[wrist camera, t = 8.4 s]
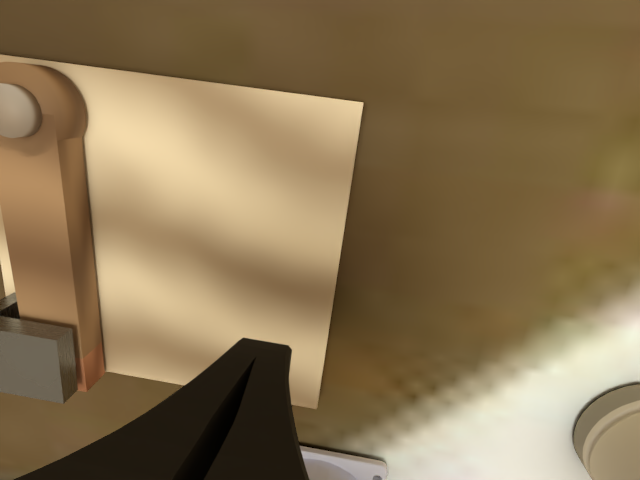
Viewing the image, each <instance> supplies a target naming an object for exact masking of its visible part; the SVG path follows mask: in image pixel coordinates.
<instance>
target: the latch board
mask: <svg viewBox="0 0 640 480" xmlns="http://www.w3.org/2000/svg"><path fill="white" fill-rule="evenodd" d="M0 62H18V63H27V64H36V65H43V66H48V67H51V68H53V69H55V70H57V71H59V72H60V73H62V74H63V75H64V76H66V77H67V78H68V79H69V80H70V81H71V82H72V83H73V85H74V86H75V87H76V89H77V90H78V92H79V94H80V96H81V98H82V100H83V103H84V107H85V112H86V126H85V130H84V133H83V136H82V146H83V157H84V167H85V177H86V187H87V197H88V207H89V217H90V228H91V238H92V248H93V258H94V268H95V278H96V288H97V299H98V309H99V319H100V329H101V339H102V349H103V359H104V370H105V371H108V372H113V373H119V374H124V375H130V376H136V377H141V378H147V379H152V380H158V381H163V382H169V383H174V384H180V385H186V384H187V383H189V382H190V381H191V380H193V379H194V378H195V377H196V376H198V375H199V374H200V373H201V372H203V371H204V370H205V369H206V368H208V367H209V366H210V365H211V364H212V363H214V362H215V361H216V360H217V359H218V358H219V357H221V356H222V355H223V354H224V353H225V352H226V351H228V350H229V349H230V348H231V347H232V346H233V345H234V344H236V343H237V342H238V341H239V340H240V339H242V338H249V339H255V340H261V341H266V342H272V343H278V344H284V345H289V347H290V348H291V349H292V355H291V363H290V372H289V388H290V397H291V405H297V406H302V407H308V408H313V409H317V405H318V399H319V392H320V386H321V379H322V372H323V366H324V359H325V353H326V346H327V340H328V333H329V326H330V320H331V313H332V307H333V300H334V294H335V287H336V280H337V274H338V267H339V261H340V254H341V248H342V241H343V235H344V228H345V221H346V215H347V208H348V202H349V195H350V189H351V182H352V175H353V169H354V162H355V156H356V149H357V143H358V136H359V129H360V123H361V116H362V110H363V102H356V101H348V100H341V99H333V98H326V97H318V96H311V95H303V94H295V93H288V92H280V91H273V90H265V89H258V88H250V87H242V86H235V85H227V84H220V83H212V82H205V81H197V80H190V79H182V78H174V77H167V76H159V75H152V74H144V73H137V72H129V71H121V70H114V69H106V68H99V67H91V66H84V65H76V64H68V63H61V62H53V61H46V60H38V59H31V58H23V57H16V56H8V55H0ZM0 261H1V268H2V274H3V280H4V287H5V293H6V296H8V295H10V294H12V293H14V292H15V287H14V281H13V275H12V269H11V264H10V258H9V252H8V246H7V241H6V235H5V229H4V224H3V218H2V212H1V206H0Z"/></svg>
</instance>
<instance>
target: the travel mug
mask: <svg viewBox="0 0 640 480" xmlns="http://www.w3.org/2000/svg"><path fill="white" fill-rule="evenodd" d="M574 446H575V450H576V453H577V454H578V456H579V458H580V460H581V462H582V463H583V465H584V467H585V468H586V470H587V472H588V473H589V475H590V477H591V478H592V479H593V480H640V384H638V385H632V386H627V387H623V388H620V389H617V390H614V391H611V392H609V393H607V394H605V395H604V396H602V397H600V398H598V399H597V400H596V401H594V402H593V403H592V404H591V405H589V407H588V408H587V409H586V410H585V411H584V412H583V413H582V415H581V417H580V418H579V420H578V422H577V424H576V428H575V431H574Z"/></svg>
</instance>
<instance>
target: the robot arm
mask: <svg viewBox="0 0 640 480" xmlns="http://www.w3.org/2000/svg"><path fill="white" fill-rule="evenodd" d="M291 355H292V349H291V348H290V347H289V345H284V344H278V343H272V342H266V341H261V340H255V339H249V338H242V339H240V340H239V341H238V342H237V343H236V344H234V345H233V346H232V347H231V348H230V349H229V350H228V351H226V352H225V353H224V354H223V355H222V356H221V357H219V358H218V359H217V360H216V361H215V362H214V363H212V364H211V365H210V366H209V367H208V368H206V369H205V370H204V371H203V372H201V373H200V374H199V375H198V376H196V377H195V378H194V379H193V380H191V381H190V382H189V383H187V384H186V385H185V386H183V387H182V388H181V389H179V390H178V391H176V392H175V393H174V394H172V395H171V396H169V397H168V398H167V399H165V400H164V401H162V402H161V403H160V404H158V405H157V406H155V407H154V408H152V409H151V410H149V411H148V412H146V413H145V414H143V415H141V416H140V417H138V418H137V419H135V420H133V421H132V422H130V423H128V424H127V425H125V426H123V427H122V428H120V429H118V430H116V431H115V432H113V433H111V434H109V435H107V436H105V437H103V438H101V439H99V440H97V441H95V442H93V443H91V444H90V445H88V446H86V447H84V448H82V449H80V450H78V451H76V452H74V453H72V454H70V455H68V456H66V457H64V458H62V459H60V460H57V461H55V462H53V463H51V464H49V465H46V466H44V467H42V468H40V469H38V470H35V471H33V472H30V473H28V474H26V475H23V476H21V477H19V478H16V479H14V480H386V477H387V465H386V464H385V463H384V462H383V461H379V460H374V459H369V458H363V457H358V456H353V455H347V454H342V453H336V452H331V451H326V450H320V449H315V448H310V447H304V446H300V445H299V441H298V437H297V433H296V428H295V423H294V417H293V412H292V405H291V397H290V388H289V372H290V363H291ZM375 475H378V476H375Z"/></svg>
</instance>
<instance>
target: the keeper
mask: <svg viewBox="0 0 640 480" xmlns="http://www.w3.org/2000/svg"><path fill="white" fill-rule="evenodd" d="M77 390H78V385H77V374H76V364H75V354H74V344H73V334H72V328H66V327H60V326H55V325H49V324H43V323H37V322H32V321H26V320H20V315H19V310H18V304H17V298H16V292H14V293H12V294H10V295H8V296H6V297H4V298H3V299H1V300H0V392H4V393H9V394H15V395H20V396H25V397H31V398H36V399H42V400H47V401H52V402H58V403H63V404H64V403H65V402H66V401H67V400H68V399H69V398H70V397H71V396H72V395H73V394H74V393H75V392H76V391H77Z"/></svg>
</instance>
